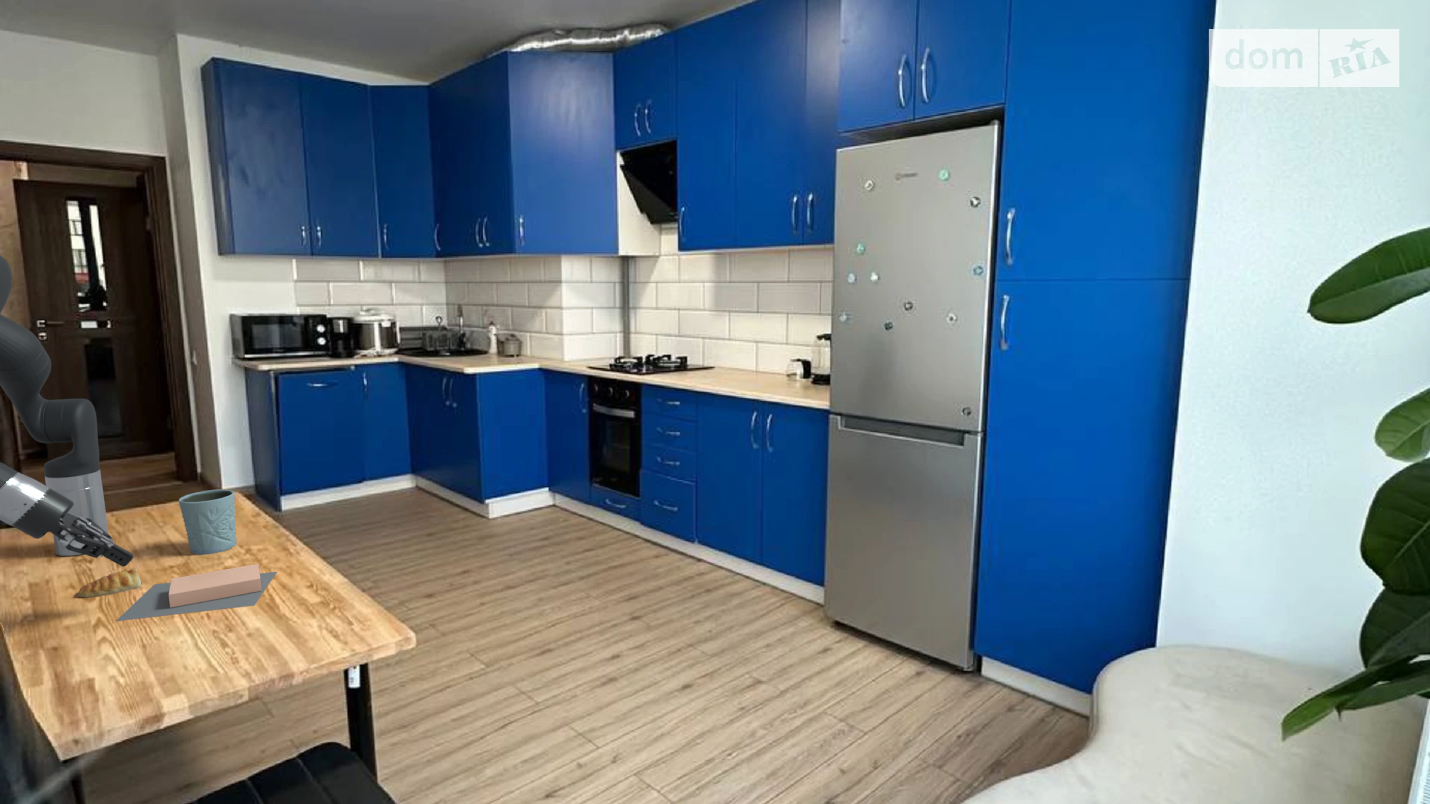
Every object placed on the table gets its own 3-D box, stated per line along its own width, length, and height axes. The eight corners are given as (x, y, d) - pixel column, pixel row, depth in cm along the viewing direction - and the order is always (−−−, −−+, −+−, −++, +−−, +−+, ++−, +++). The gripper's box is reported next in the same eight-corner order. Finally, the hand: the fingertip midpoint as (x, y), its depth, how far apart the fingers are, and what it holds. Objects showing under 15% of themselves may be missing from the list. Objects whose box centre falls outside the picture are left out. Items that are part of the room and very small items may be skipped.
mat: (154, 587, 147) (154, 584, 147) (277, 574, 153) (277, 571, 153) (116, 624, 131) (115, 620, 131) (254, 608, 137) (254, 605, 137)
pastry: (81, 605, 139) (78, 585, 139) (76, 595, 144) (74, 576, 144) (144, 591, 146) (142, 572, 146) (138, 582, 151) (136, 563, 150)
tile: (168, 594, 136) (260, 578, 143) (171, 578, 143) (258, 563, 151) (170, 608, 136) (261, 591, 143) (173, 591, 144) (259, 576, 151)
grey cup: (248, 545, 171) (243, 493, 169) (198, 559, 162) (192, 504, 160) (225, 537, 176) (220, 487, 174) (176, 550, 168) (169, 497, 166)
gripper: (39, 496, 123) (143, 554, 131) (53, 479, 134) (148, 534, 142) (0, 534, 121) (108, 591, 129) (17, 513, 132) (116, 567, 140)
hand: (129, 561), depth 136 cm, fingers closed
